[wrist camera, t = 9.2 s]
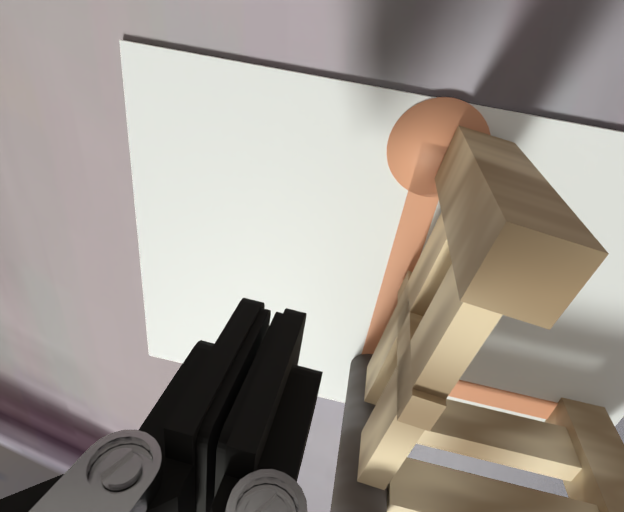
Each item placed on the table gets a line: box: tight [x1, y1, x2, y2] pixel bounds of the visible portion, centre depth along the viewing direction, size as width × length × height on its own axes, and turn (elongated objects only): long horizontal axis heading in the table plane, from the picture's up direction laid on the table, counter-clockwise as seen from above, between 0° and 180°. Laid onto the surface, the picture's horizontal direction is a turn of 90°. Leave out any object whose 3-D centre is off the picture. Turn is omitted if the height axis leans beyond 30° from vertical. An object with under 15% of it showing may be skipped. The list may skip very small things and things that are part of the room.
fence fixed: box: [330, 354, 624, 512], centre depth 17 cm, size 12×2×9 cm, turn 82°
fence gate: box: [357, 125, 609, 490], centre depth 14 cm, size 11×2×8 cm, turn 165°
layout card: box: [119, 40, 624, 426], centre depth 18 cm, size 24×16×1 cm
